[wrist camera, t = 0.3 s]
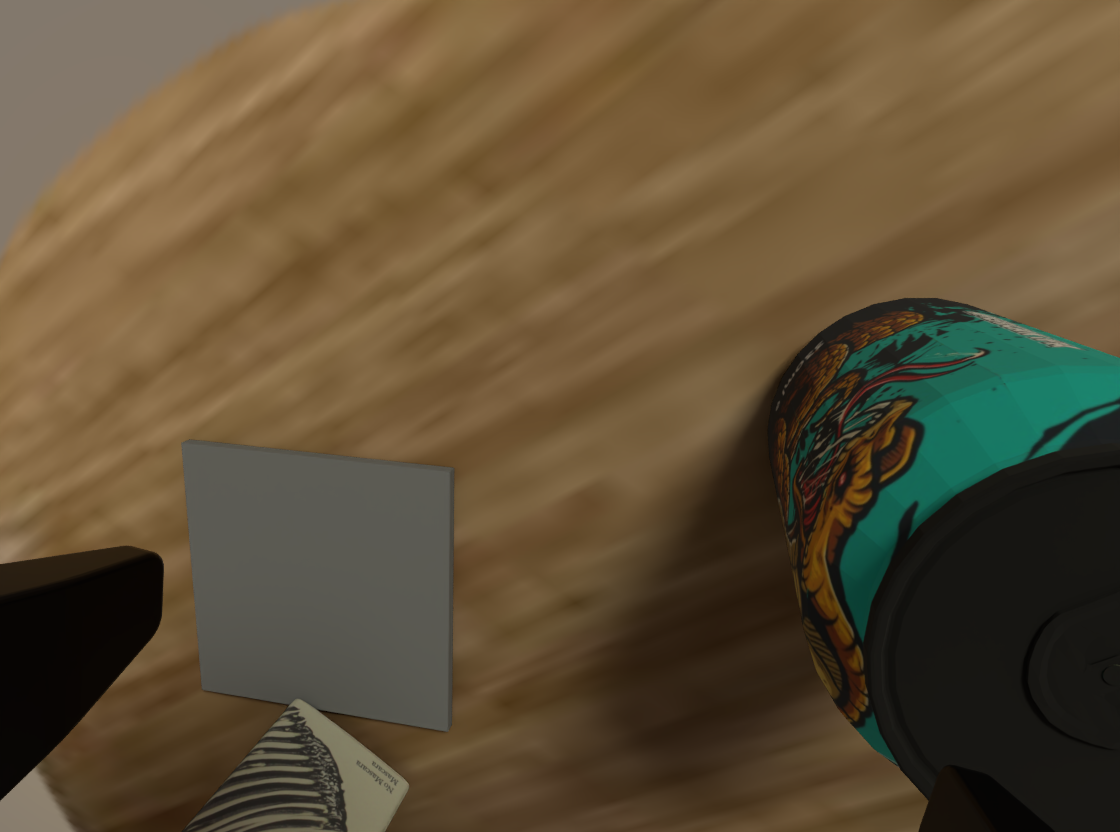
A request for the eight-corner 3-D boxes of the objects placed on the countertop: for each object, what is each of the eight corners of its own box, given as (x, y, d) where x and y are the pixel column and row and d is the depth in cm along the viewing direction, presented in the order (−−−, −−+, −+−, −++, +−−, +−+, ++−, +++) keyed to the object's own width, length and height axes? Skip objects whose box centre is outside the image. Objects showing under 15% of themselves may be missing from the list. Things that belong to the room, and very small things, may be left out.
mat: (451, 724, 26) (447, 731, 26) (209, 683, 28) (202, 689, 27) (454, 467, 24) (450, 471, 23) (189, 439, 25) (181, 442, 25)
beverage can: (720, 376, 22) (718, 553, 10) (971, 242, 20) (1323, 277, 8) (839, 587, 22) (962, 973, 11) (1093, 480, 20) (1567, 816, 9)
